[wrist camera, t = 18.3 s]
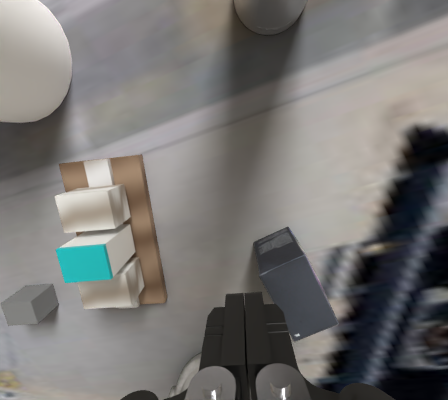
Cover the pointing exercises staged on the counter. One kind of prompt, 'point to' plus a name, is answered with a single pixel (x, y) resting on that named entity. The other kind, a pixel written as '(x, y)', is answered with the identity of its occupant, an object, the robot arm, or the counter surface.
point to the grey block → (30, 304)
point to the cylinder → (31, 61)
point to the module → (96, 254)
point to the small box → (293, 284)
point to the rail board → (136, 221)
